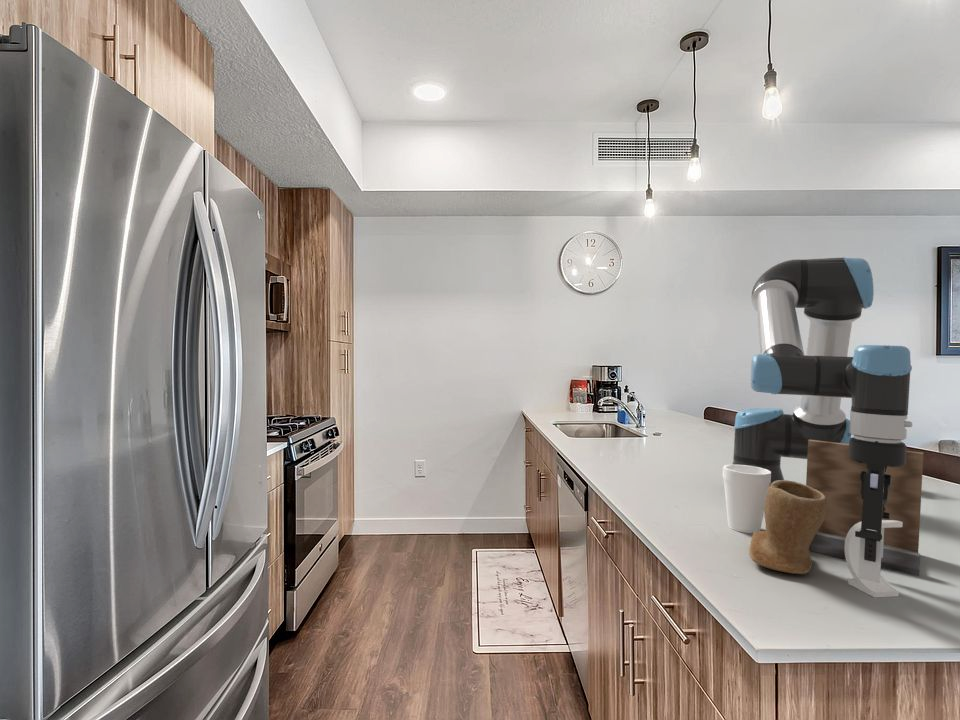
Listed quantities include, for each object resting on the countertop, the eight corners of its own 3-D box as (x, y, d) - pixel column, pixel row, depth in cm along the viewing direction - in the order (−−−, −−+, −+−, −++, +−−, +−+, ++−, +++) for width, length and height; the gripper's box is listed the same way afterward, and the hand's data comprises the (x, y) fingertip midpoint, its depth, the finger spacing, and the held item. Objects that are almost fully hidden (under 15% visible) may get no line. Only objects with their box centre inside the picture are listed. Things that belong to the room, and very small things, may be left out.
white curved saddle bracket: (874, 597, 84) (877, 522, 84) (842, 580, 90) (845, 510, 90) (899, 596, 85) (902, 522, 85) (866, 579, 91) (869, 510, 91)
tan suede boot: (824, 587, 88) (829, 497, 87) (745, 569, 94) (748, 485, 94) (822, 557, 101) (826, 479, 100) (752, 543, 107) (755, 469, 106)
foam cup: (764, 524, 119) (767, 467, 119) (772, 538, 110) (775, 476, 110) (718, 519, 122) (720, 462, 122) (722, 531, 113) (725, 471, 113)
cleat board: (795, 547, 105) (799, 447, 105) (805, 530, 116) (809, 439, 115) (919, 575, 93) (925, 462, 93) (917, 553, 104) (923, 452, 103)
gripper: (906, 452, 75) (899, 600, 75) (906, 433, 94) (900, 551, 95) (843, 444, 80) (836, 584, 80) (855, 428, 99) (849, 541, 100)
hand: (871, 567), depth 87 cm, fingers open, 13 cm apart
